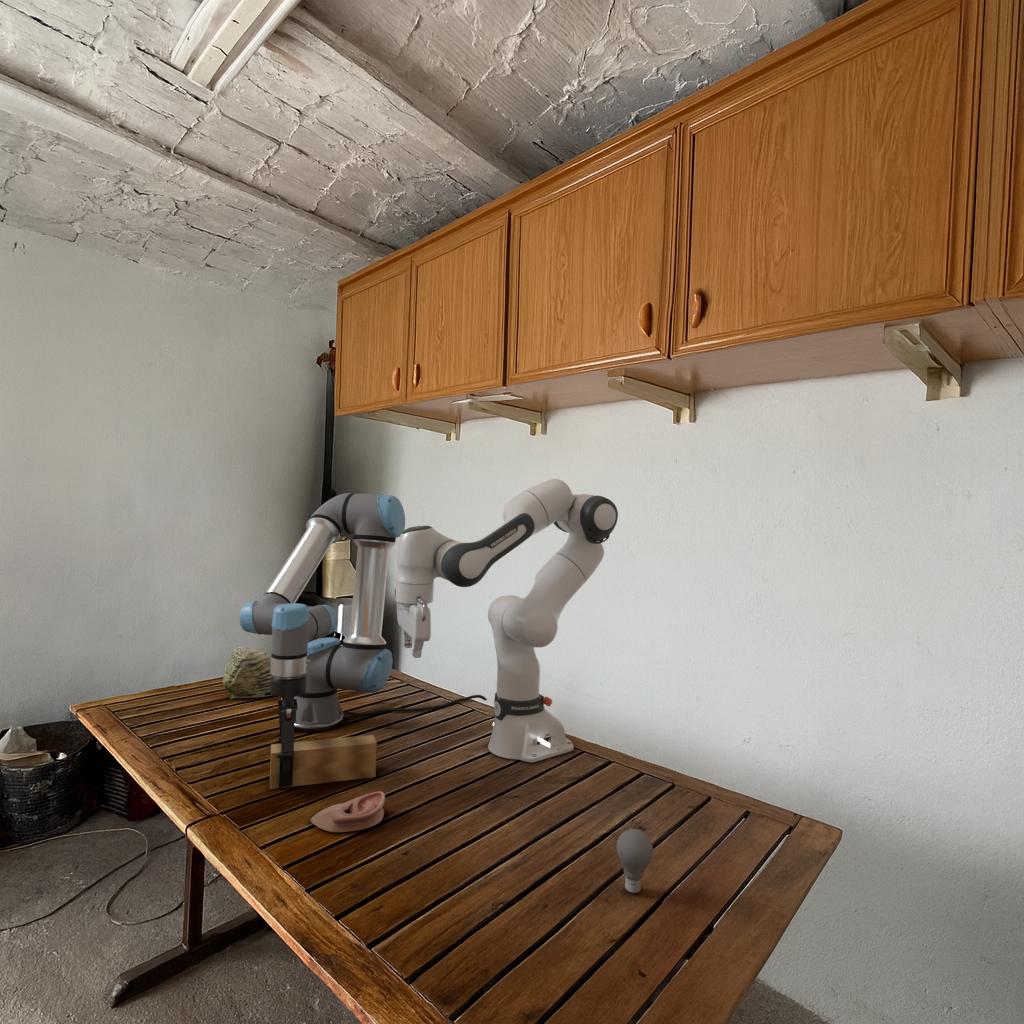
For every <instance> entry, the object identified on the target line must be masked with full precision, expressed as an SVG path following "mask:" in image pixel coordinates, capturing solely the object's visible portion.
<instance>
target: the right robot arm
mask: <svg viewBox="0 0 1024 1024" xmlns="http://www.w3.org/2000/svg"><path fill="white" fill-rule="evenodd" d="M502 512H503V513H502V518H503V523H502V524H501V525H499V526H498V527H497V528H494V529H493V531H491V532H489V533H488V534H486V535H485V536H483V537H482V538H480V539H478V540H476V541H472V542H462V541H458V540H454V539H452V538H450V537H448V536H445V535H444V534H441V533H440V532H438V531H437V530H435V528H433V526H430V525H416V526H410V527H408V528H405V529H404V530H403V532H402V533H401V536H400V537H399V540H398V544H397V545H398V547H397V557H396V565H397V571H398V572H397V576H396V580H395V588H394V597H395V602H396V619H397V624H398V626H399V627H400V628H401V629H402V635H403V646H404V648H405V649H412V657H413V658H415V659H421V658H422V651H423V647H424V644H425V642H429V641H430V640H431V634H432V623H431V622H432V618H431V615H432V614H431V609H430V607H429V606H428V605H429V604H432V603H433V602H434V592H435V591H434V590H435V587H434V585H435V579H437V578H440V579H444V580H446V581H448V582H450V583H451V584H453V585H454V586H456V587H460V588H470V587H473V586H474V585H477V584H478V583H479V582H481V581H482V579H483V578H484V577H485V575H486V574H487V573H488V572H489V570H490V568H491V567H492V566H494V564H495V563H497V562H498V561H499V560H500V559H502V558H503V557H505V556H507V554H509V553H510V552H512V551H513V550H514V549H516V548H517V547H519V546H520V545H521V544H524V542H526V541H527V540H528V539H530V538H531V537H533V536H535V535H536V534H538V533H540V532H542V531H543V530H545V529H546V528H549V526H551V525H554V526H555V527H556V528H557V529H558V530H560V531H562V532H563V533H568V537H567V540H566V541H565V543H564V545H563V546H562V547H561V548H560V549H559V550H558V551H556V553H555V554H554V555H553V556H551V558H550V559H549V560H548V561H547V562H546V563H545V564H544V565H543V566H542V567H541V568H540V569H539V570H538V571H537V572H536V574H535V576H534V584H533V586H532V587H531V589H530V591H529V592H528V594H527V595H526V596H525V597H520V596H518V595H513V594H509V595H508V594H507V595H501V596H498V597H497V598H495V599H494V600H493V601H492V602H491V603H490V604H489V607H488V610H487V619H488V622H489V624H490V626H491V630H492V634H493V641H494V647H495V654H496V655H495V656H496V665H497V667H496V669H497V670H496V692H495V693H494V703H493V716H494V719H493V723H492V730H491V735H490V738H489V741H488V744H487V749H488V751H489V752H490V753H491V754H492V755H494V756H497V757H500V758H503V759H508V760H516V761H517V760H518V761H523V762H526V763H530V764H531V763H536V762H540V761H543V760H546V759H551V758H553V757H557V756H560V755H563V754H567V753H571V752H573V751H574V750H575V749H574V744H573V742H572V740H570V739H569V738H568V737H566V731H565V728H564V725H563V723H562V721H561V720H560V719H559V718H557V717H556V716H555V715H554V714H552V713H551V712H550V711H548V709H546V708H545V706H547V707H551V706H552V704H553V699H552V698H550V697H549V696H544V695H543V694H540V683H541V664H540V661H539V659H538V657H537V654H536V650H535V648H544V647H547V646H549V645H550V644H551V643H552V642H553V641H554V639H555V638H556V637H557V633H558V629H559V627H558V626H559V625H558V623H559V618H560V617H561V615H562V613H563V610H564V609H565V607H566V606H567V604H568V603H569V601H570V600H572V598H573V596H575V594H577V592H578V591H579V590H580V589H581V588H582V587H583V586H584V585H585V584H586V582H587V581H588V580H589V579H590V578H591V577H592V575H594V573H595V571H596V570H597V568H599V565H600V564H601V563H602V561H603V559H604V556H605V548H604V545H603V543H604V542H606V541H607V540H609V538H610V535H611V534H612V532H613V531H614V529H616V526H617V523H618V519H619V512H618V508H617V506H616V504H615V502H613V501H612V500H611V499H609V498H607V497H605V496H602V495H594V494H587V493H581V494H578V493H577V494H573V492H572V490H571V488H570V486H569V485H568V484H567V483H566V482H565V481H563V480H561V479H559V478H552V479H549V480H545V481H543V482H540V483H538V484H536V485H533V486H531V487H529V488H527V489H526V490H524V491H522V492H520V493H519V494H517V495H515V496H514V497H513V498H511V500H509V501H508V502H507V503H506V504H505V505H504V508H503V511H502Z"/></svg>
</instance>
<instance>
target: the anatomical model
mask: <svg viewBox="0 0 1024 1024" xmlns="http://www.w3.org/2000/svg"><path fill="white" fill-rule="evenodd" d="M385 802H386V794H385V792H384V791H380V790H379V791H374V792H370V793H366V794H363V795H361V796H358V797H355V798H353V799H351V800H348V801H345V802H343V803H337V804H334V805H333V804H332V805H330V806H328V807H325V808H324V809H322V810H321V811H318V812H317V813H316V814H315V815H313V816H312V817H311V818H310V823H311V824H313V825H314V826H316V827H317V828H319V829H321V830H323V831H326V832H329V833H347V832H355V831H361V830H365V829H369V828H371V827H374V826H376V825H378V824H379V823H380V822H382V820H383V819H384V815H385V810H384V805H385Z"/></svg>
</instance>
